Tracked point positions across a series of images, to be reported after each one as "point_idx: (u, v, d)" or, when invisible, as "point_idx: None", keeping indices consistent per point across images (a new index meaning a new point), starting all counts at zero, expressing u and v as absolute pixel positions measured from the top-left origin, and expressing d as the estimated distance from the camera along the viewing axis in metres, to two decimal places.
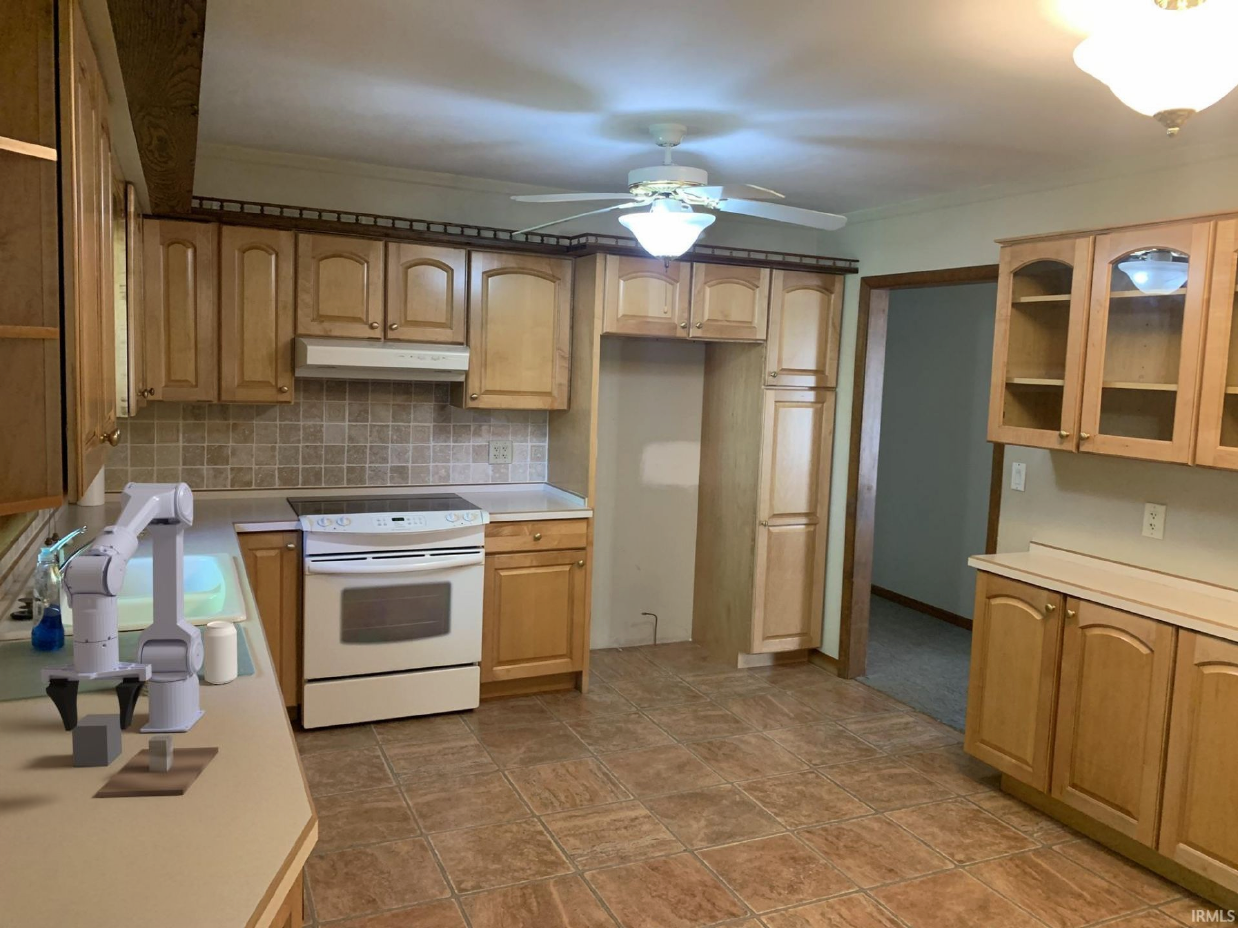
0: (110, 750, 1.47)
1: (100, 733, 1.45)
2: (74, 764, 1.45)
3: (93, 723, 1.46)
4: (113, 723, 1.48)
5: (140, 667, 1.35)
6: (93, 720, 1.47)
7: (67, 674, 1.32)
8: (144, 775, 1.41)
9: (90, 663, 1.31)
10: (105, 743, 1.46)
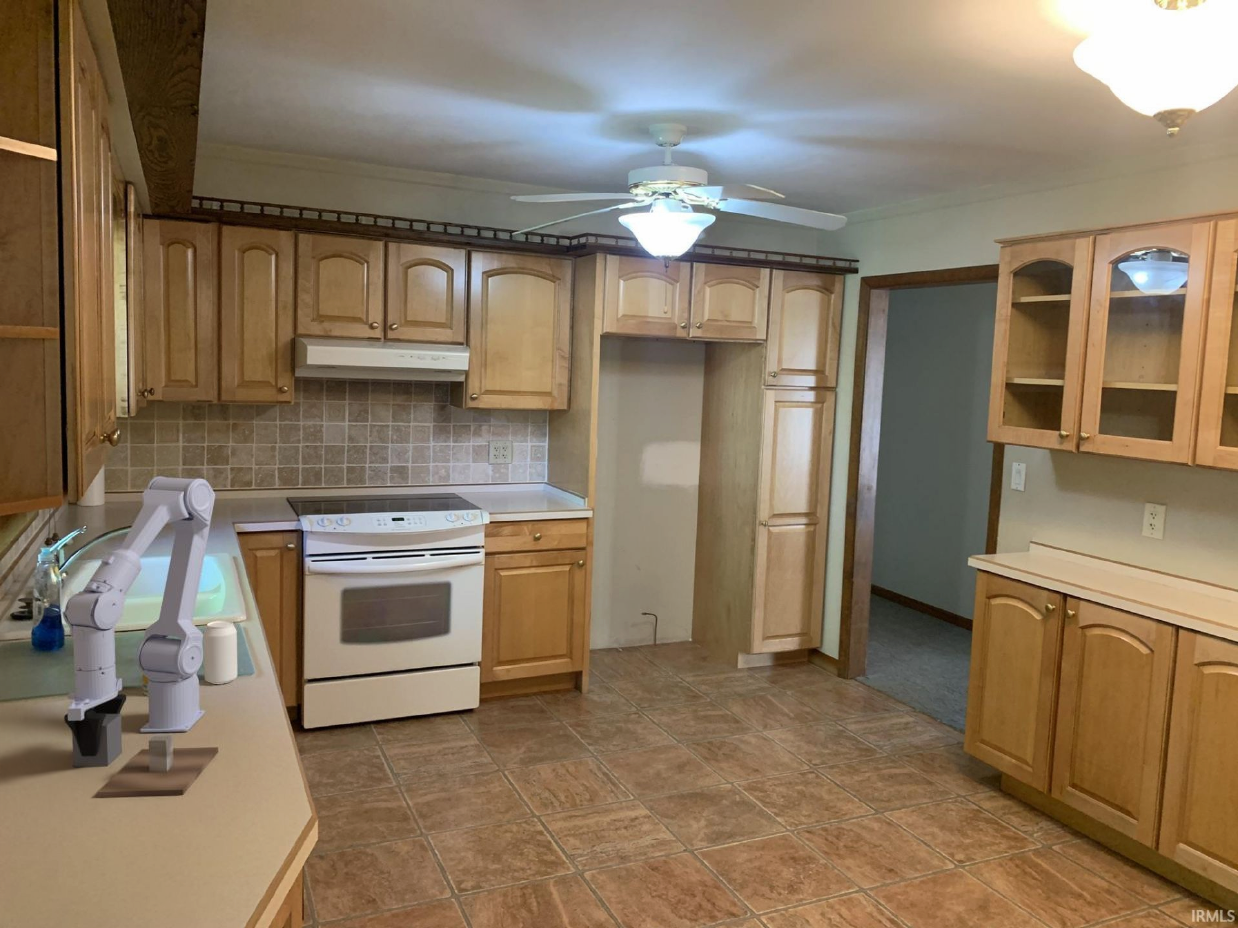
0: (110, 750, 1.47)
1: (100, 733, 1.45)
2: (74, 764, 1.45)
3: None
4: (113, 723, 1.48)
5: (77, 706, 1.41)
6: None
7: None
8: (144, 775, 1.41)
9: None
10: (105, 743, 1.46)
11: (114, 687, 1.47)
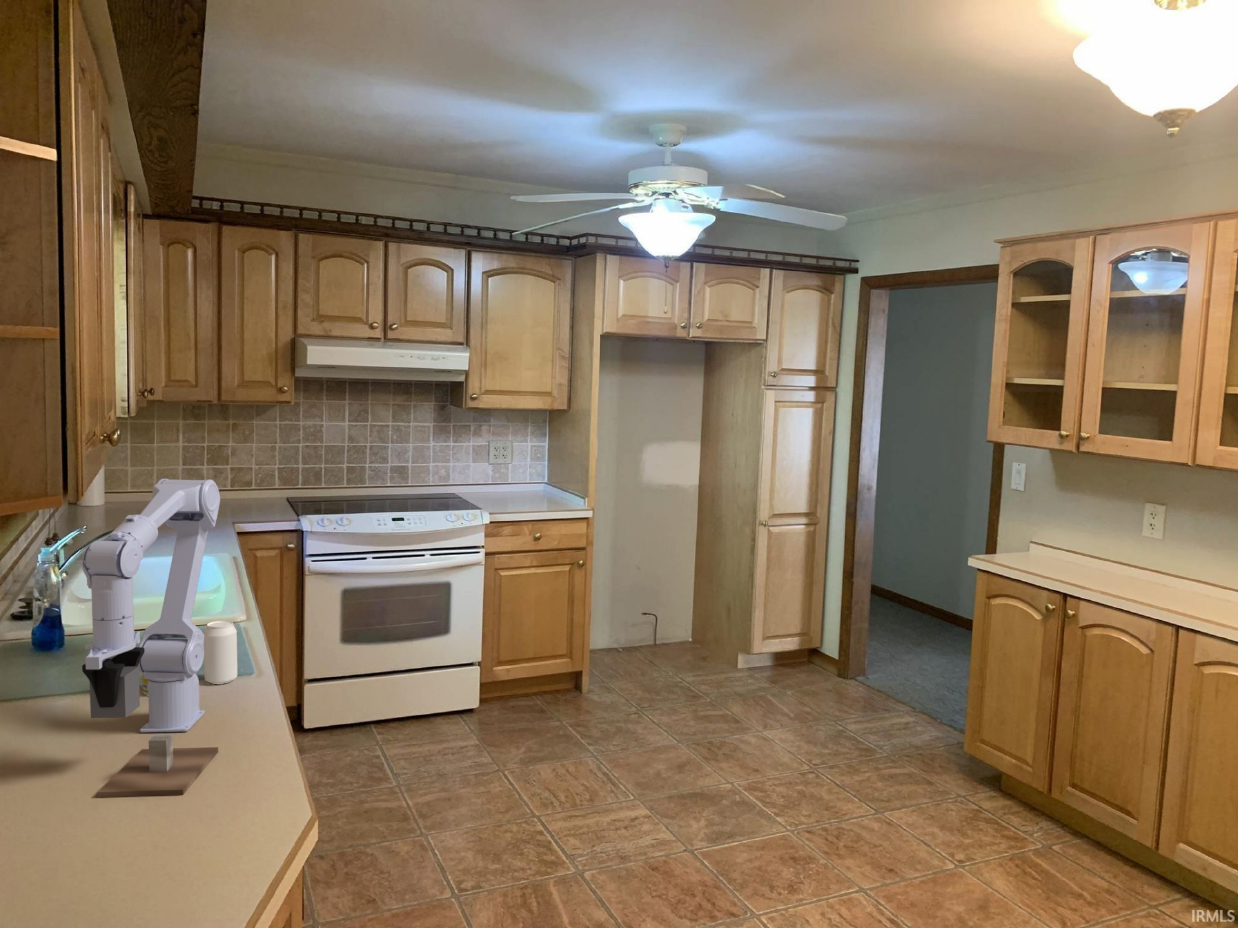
0: (128, 702, 1.45)
1: (118, 684, 1.43)
2: (91, 716, 1.43)
3: None
4: (131, 674, 1.45)
5: None
6: None
7: None
8: (144, 775, 1.41)
9: None
10: (123, 694, 1.43)
11: (132, 638, 1.45)
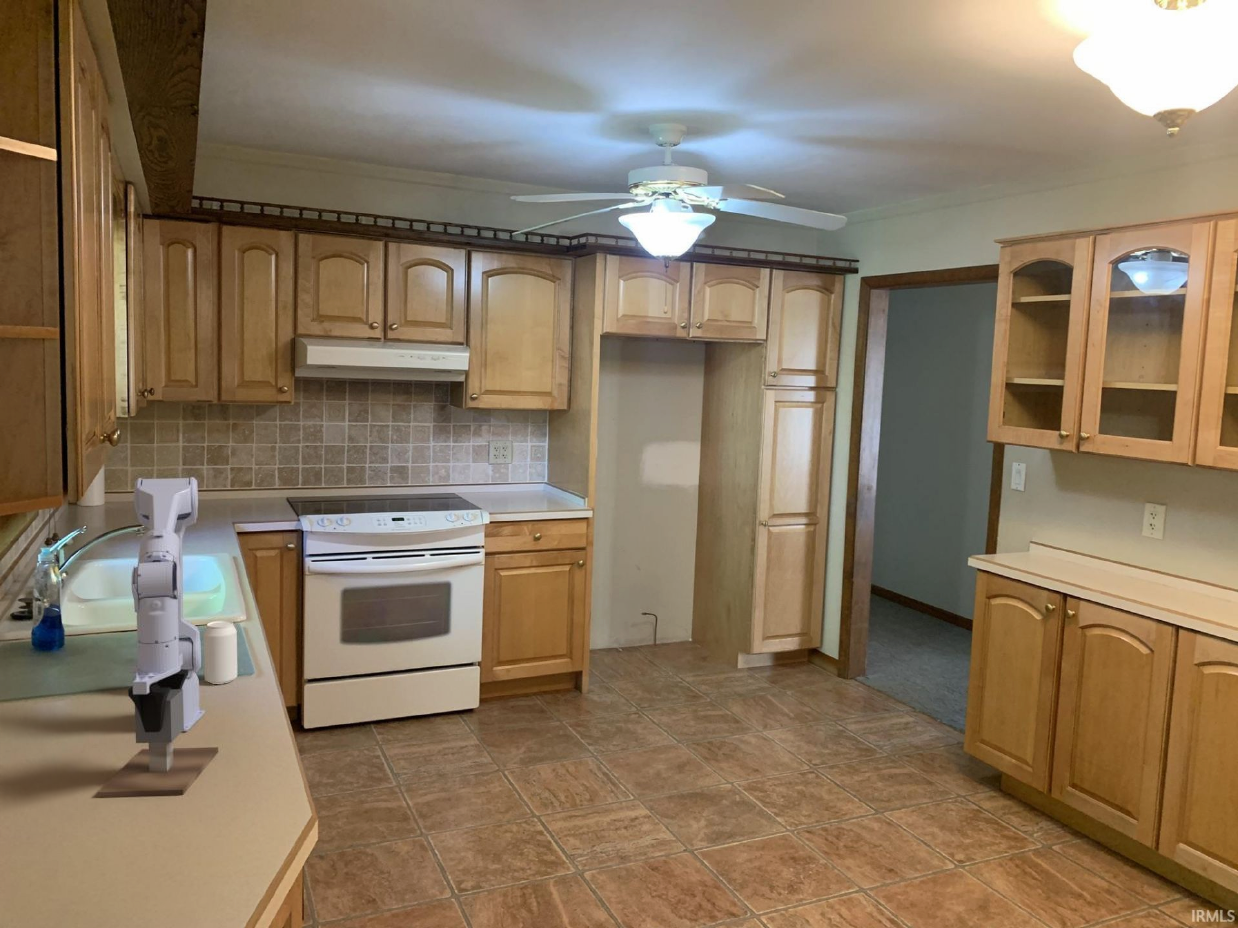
0: (173, 726, 1.42)
1: (164, 708, 1.40)
2: (137, 740, 1.40)
3: None
4: (176, 698, 1.43)
5: (142, 680, 1.36)
6: None
7: None
8: (144, 775, 1.41)
9: None
10: (169, 719, 1.40)
11: (177, 661, 1.42)
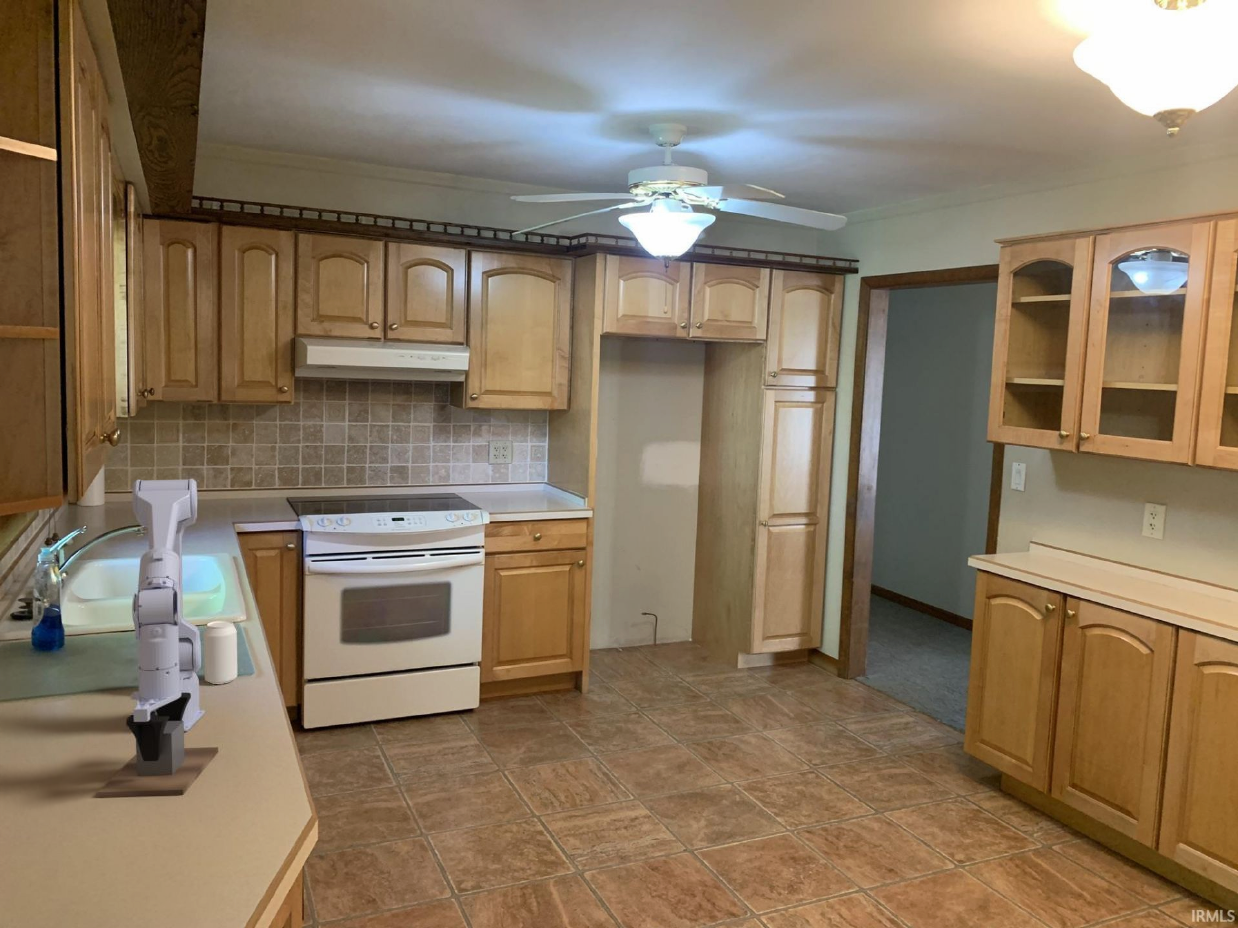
0: (174, 758, 1.42)
1: (165, 741, 1.41)
2: (138, 773, 1.41)
3: None
4: (177, 730, 1.43)
5: (143, 707, 1.36)
6: None
7: None
8: None
9: None
10: (170, 751, 1.41)
11: (178, 687, 1.43)
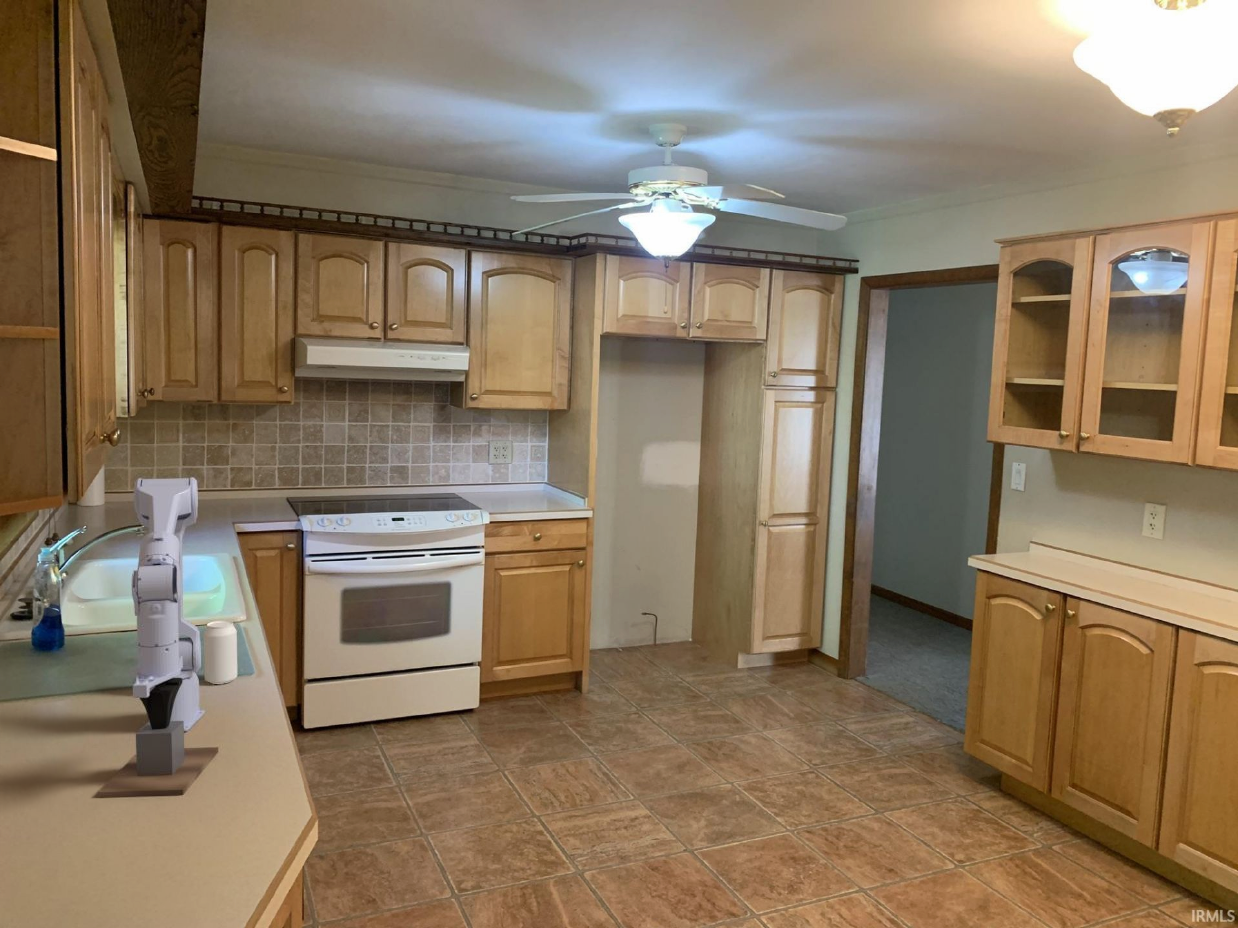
0: (174, 758, 1.42)
1: (165, 741, 1.41)
2: (138, 773, 1.41)
3: (157, 731, 1.41)
4: (177, 730, 1.43)
5: (142, 683, 1.36)
6: None
7: None
8: None
9: None
10: (170, 751, 1.41)
11: (178, 664, 1.42)
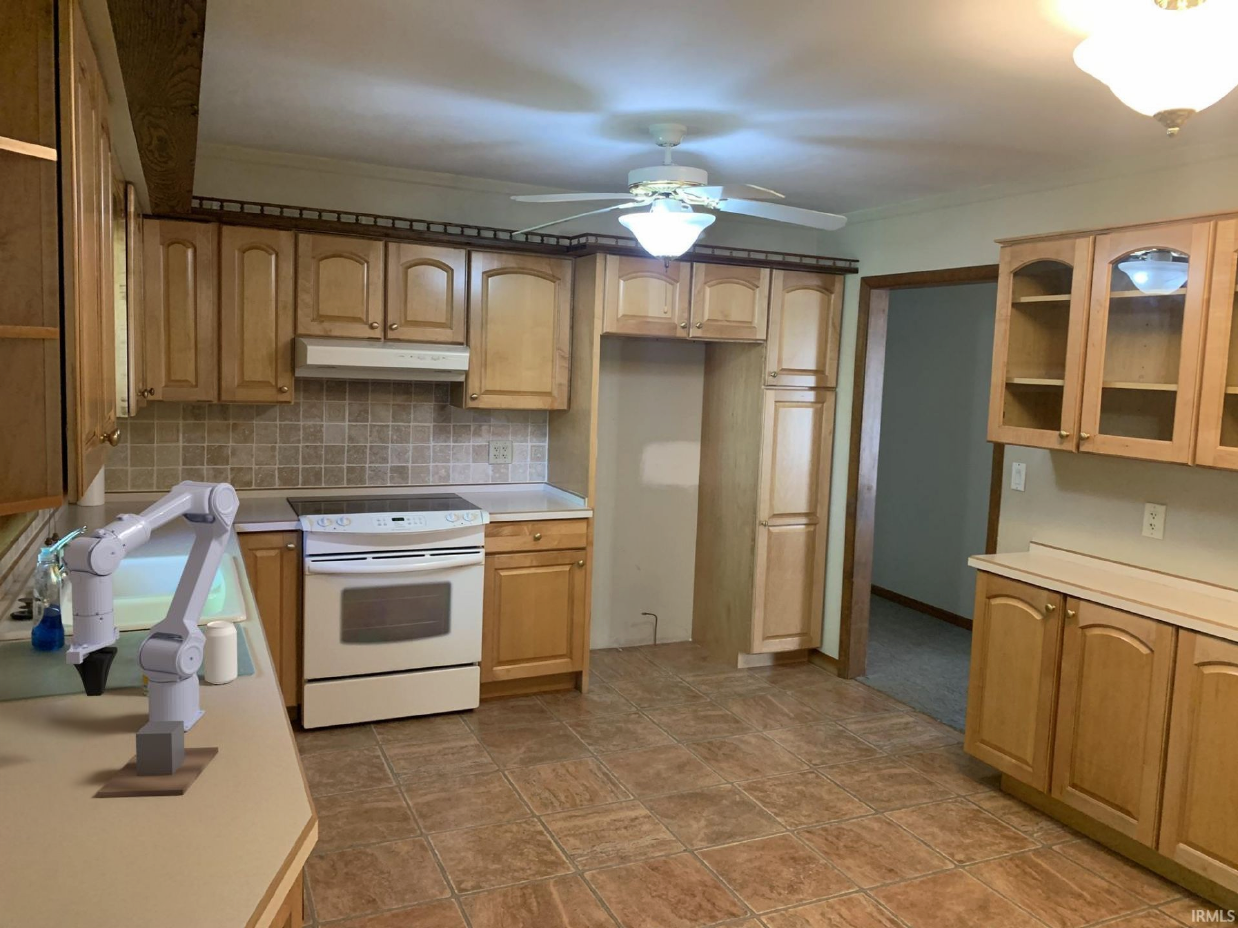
0: (174, 758, 1.42)
1: (165, 741, 1.41)
2: (138, 773, 1.41)
3: (157, 731, 1.41)
4: (177, 730, 1.43)
5: (75, 650, 1.41)
6: (156, 728, 1.42)
7: None
8: None
9: None
10: (170, 751, 1.41)
11: (112, 633, 1.48)
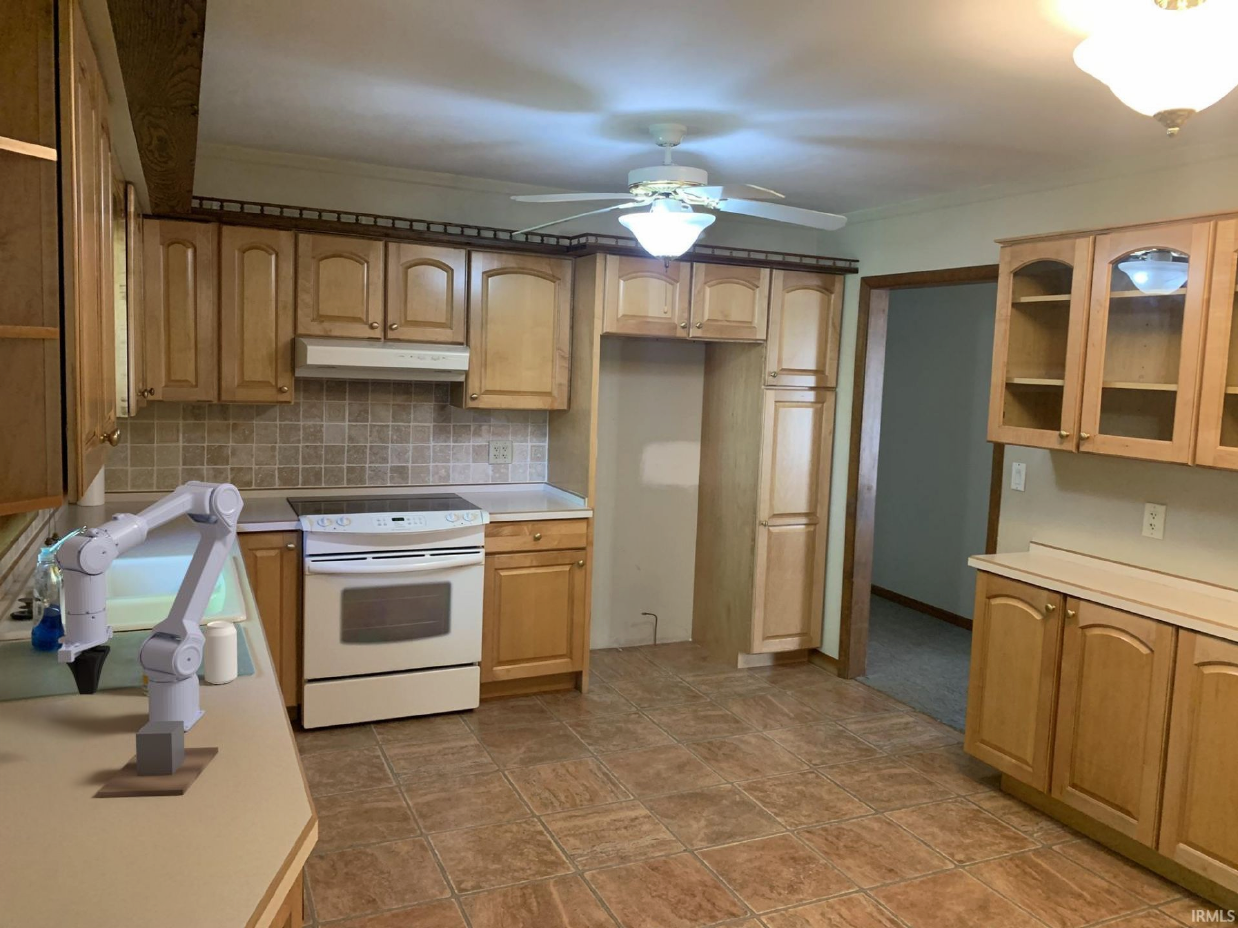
0: (174, 758, 1.42)
1: (165, 741, 1.41)
2: (138, 773, 1.41)
3: (157, 731, 1.41)
4: (177, 730, 1.43)
5: None
6: (156, 728, 1.42)
7: None
8: None
9: None
10: (170, 751, 1.41)
11: (104, 632, 1.48)
